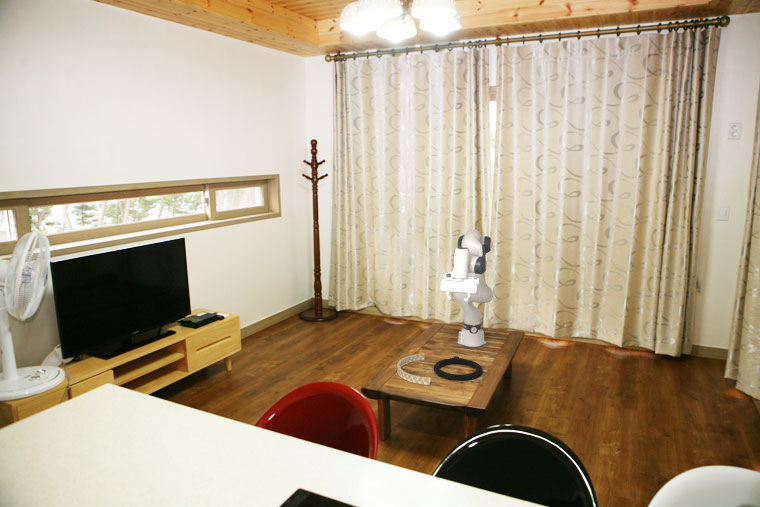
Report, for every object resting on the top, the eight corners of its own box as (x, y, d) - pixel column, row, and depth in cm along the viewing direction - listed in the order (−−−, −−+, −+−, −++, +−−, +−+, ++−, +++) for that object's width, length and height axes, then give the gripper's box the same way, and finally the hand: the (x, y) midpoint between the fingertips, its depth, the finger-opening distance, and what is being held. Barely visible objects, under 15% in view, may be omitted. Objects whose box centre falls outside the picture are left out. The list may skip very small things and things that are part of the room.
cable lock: (433, 375, 283) (433, 354, 312) (433, 381, 283) (433, 361, 313) (484, 376, 280) (479, 356, 309) (484, 383, 280) (479, 362, 310)
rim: (395, 359, 314) (395, 354, 314) (424, 359, 315) (424, 353, 314) (398, 385, 278) (398, 379, 277) (430, 384, 278) (430, 378, 277)
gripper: (480, 278, 284) (477, 303, 281) (443, 275, 290) (441, 300, 288) (478, 276, 278) (476, 302, 276) (440, 274, 285) (438, 299, 282)
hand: (457, 301), depth 282 cm, fingers open, 8 cm apart
